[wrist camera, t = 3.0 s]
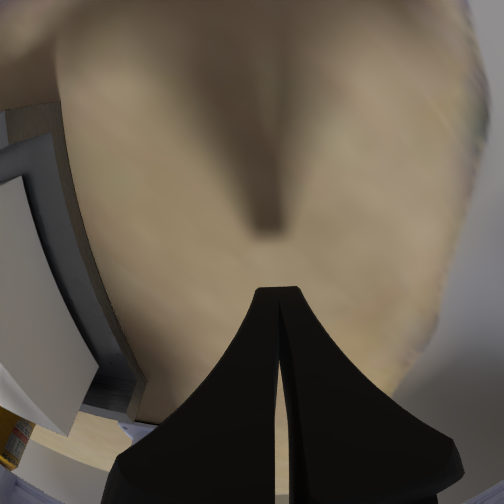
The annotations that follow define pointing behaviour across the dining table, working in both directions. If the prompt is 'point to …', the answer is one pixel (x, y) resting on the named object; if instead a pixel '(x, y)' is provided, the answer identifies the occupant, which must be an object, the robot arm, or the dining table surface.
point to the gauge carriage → (36, 326)
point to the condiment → (13, 438)
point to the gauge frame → (70, 253)
